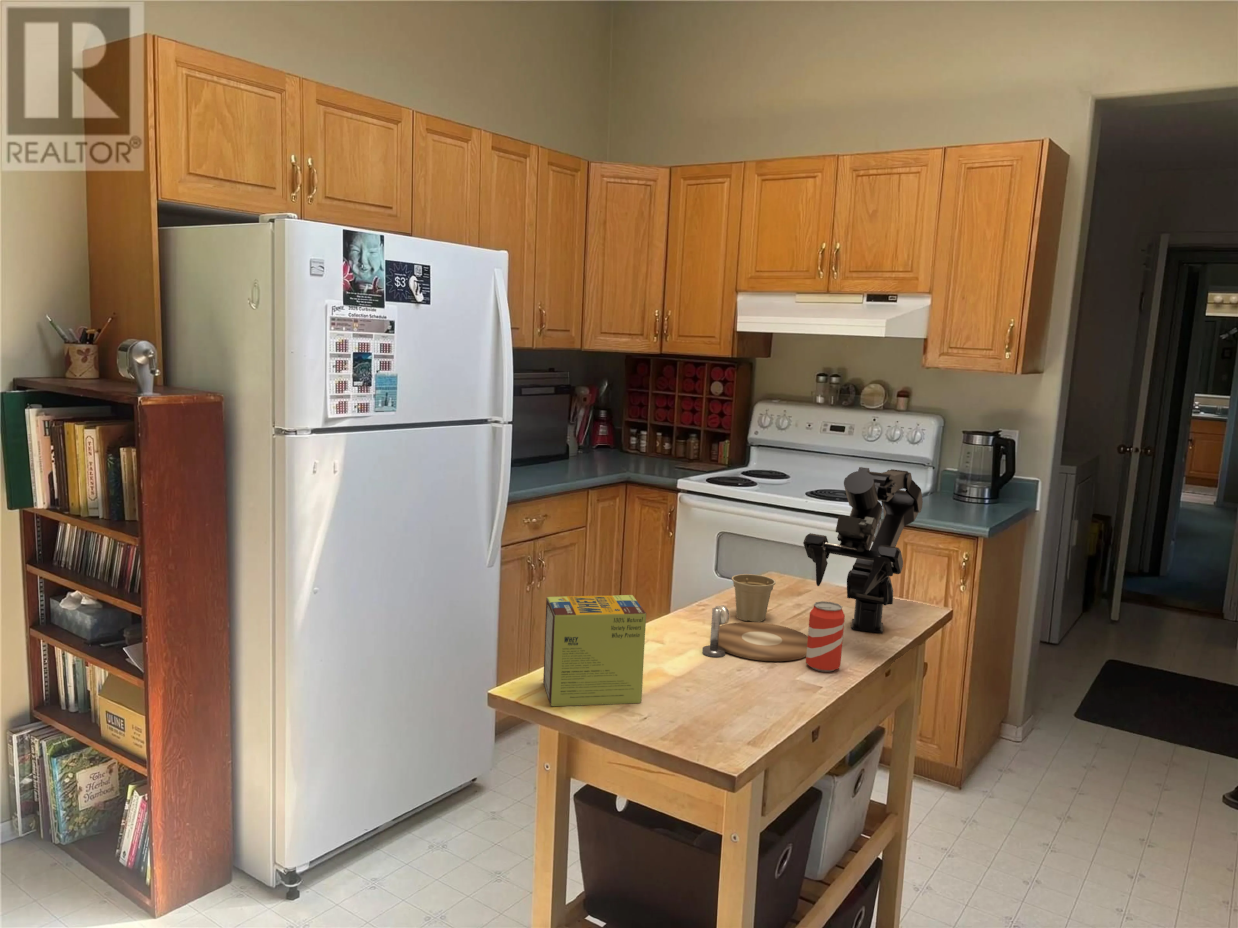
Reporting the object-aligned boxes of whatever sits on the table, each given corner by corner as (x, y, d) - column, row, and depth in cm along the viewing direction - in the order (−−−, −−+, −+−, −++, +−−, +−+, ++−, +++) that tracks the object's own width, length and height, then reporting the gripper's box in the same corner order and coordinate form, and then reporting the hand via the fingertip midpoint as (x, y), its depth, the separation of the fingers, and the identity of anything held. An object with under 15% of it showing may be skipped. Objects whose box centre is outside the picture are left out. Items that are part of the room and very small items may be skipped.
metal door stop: (710, 658, 171) (713, 611, 169) (697, 650, 175) (700, 604, 173) (729, 655, 173) (733, 608, 171) (716, 647, 177) (719, 602, 175)
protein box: (642, 703, 149) (647, 612, 147) (550, 707, 146) (553, 614, 143) (628, 679, 159) (633, 594, 157) (541, 682, 156) (545, 595, 153)
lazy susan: (720, 621, 192) (720, 616, 192) (816, 634, 187) (816, 629, 187) (702, 651, 173) (702, 647, 173) (808, 667, 168) (808, 662, 168)
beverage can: (803, 660, 172) (808, 599, 171) (837, 662, 172) (843, 601, 170) (807, 671, 166) (812, 609, 165) (842, 674, 166) (847, 611, 164)
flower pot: (741, 608, 203) (744, 571, 202) (780, 617, 198) (783, 579, 196) (721, 618, 195) (723, 579, 194) (760, 628, 190) (763, 588, 189)
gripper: (810, 493, 180) (786, 558, 173) (905, 506, 171) (883, 575, 163) (820, 525, 188) (797, 588, 180) (911, 539, 179) (891, 607, 171)
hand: (840, 589), depth 173 cm, fingers open, 9 cm apart
